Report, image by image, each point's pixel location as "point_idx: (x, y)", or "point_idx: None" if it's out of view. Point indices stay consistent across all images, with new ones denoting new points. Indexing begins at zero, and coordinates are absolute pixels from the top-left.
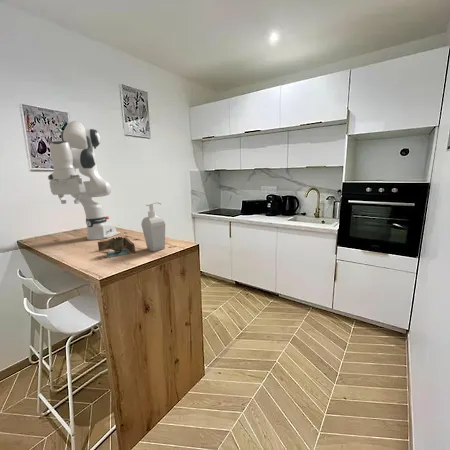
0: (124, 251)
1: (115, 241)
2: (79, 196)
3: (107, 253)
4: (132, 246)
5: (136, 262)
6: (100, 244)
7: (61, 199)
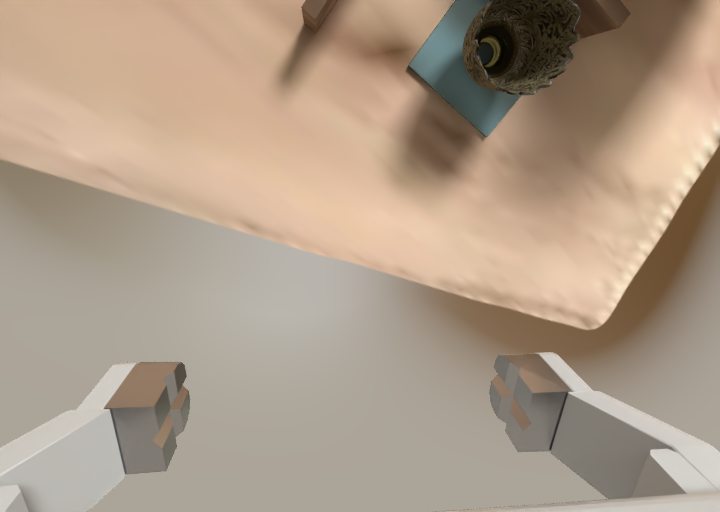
0: None
1: (546, 83)
2: (695, 461)
3: (421, 77)
4: (609, 29)
5: (658, 168)
6: (324, 9)
7: (103, 487)
